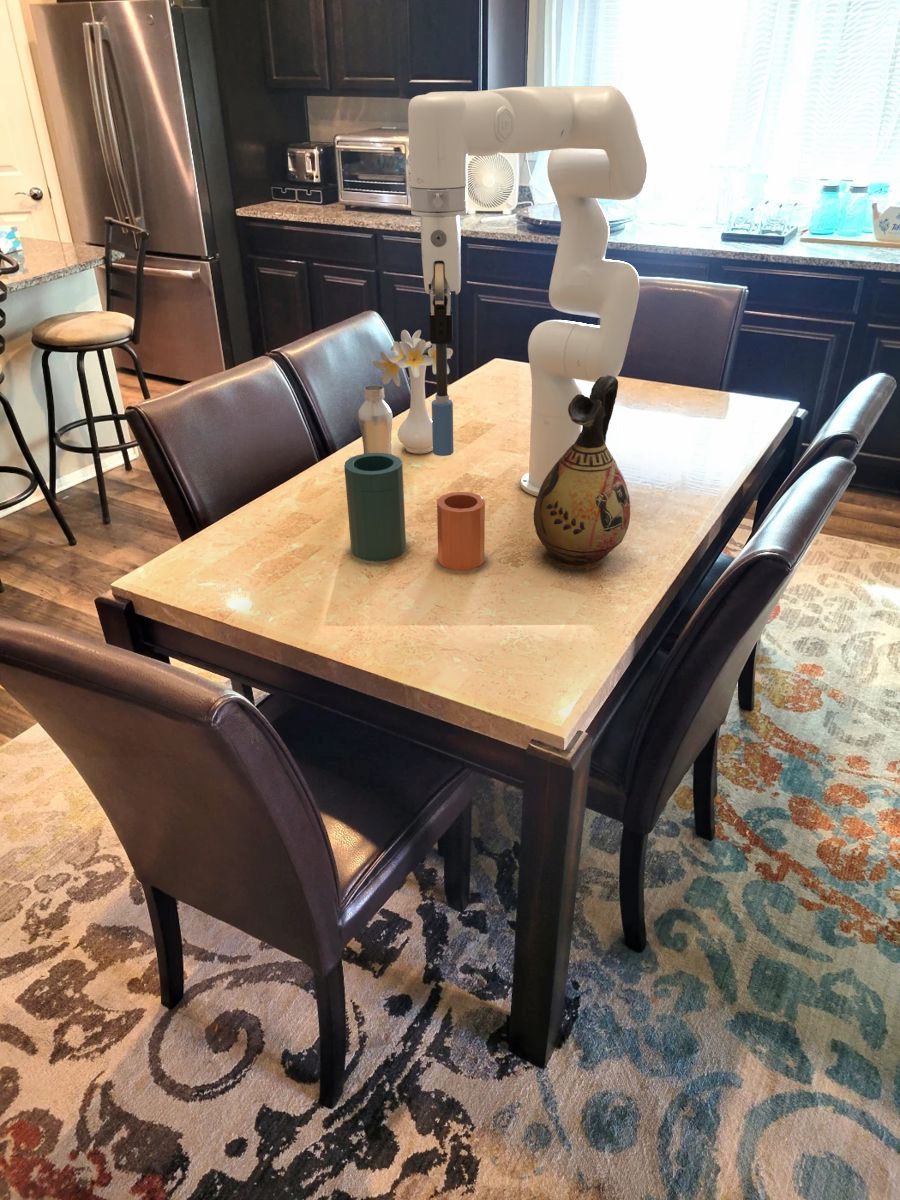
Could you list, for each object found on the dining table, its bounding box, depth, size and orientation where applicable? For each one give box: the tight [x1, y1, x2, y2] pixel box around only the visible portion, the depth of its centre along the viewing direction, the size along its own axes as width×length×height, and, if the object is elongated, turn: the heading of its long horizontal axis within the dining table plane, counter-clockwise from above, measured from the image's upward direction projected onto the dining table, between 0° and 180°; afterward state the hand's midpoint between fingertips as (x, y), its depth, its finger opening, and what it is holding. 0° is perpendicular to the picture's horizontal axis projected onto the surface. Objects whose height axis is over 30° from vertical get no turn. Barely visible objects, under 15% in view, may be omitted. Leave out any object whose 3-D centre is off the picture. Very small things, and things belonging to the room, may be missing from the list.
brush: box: [431, 344, 454, 457], centre depth 126 cm, size 3×3×22 cm
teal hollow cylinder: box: [344, 453, 407, 562], centre depth 140 cm, size 9×9×16 cm
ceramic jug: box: [533, 375, 631, 571], centre depth 135 cm, size 17×15×30 cm
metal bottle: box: [357, 384, 394, 455], centre depth 163 cm, size 6×7×20 cm
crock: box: [436, 491, 486, 571], centre depth 138 cm, size 8×8×11 cm
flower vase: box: [372, 329, 454, 455], centre depth 178 cm, size 13×18×25 cm
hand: (441, 340), depth 123 cm, fingers closed on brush, 1 cm apart
